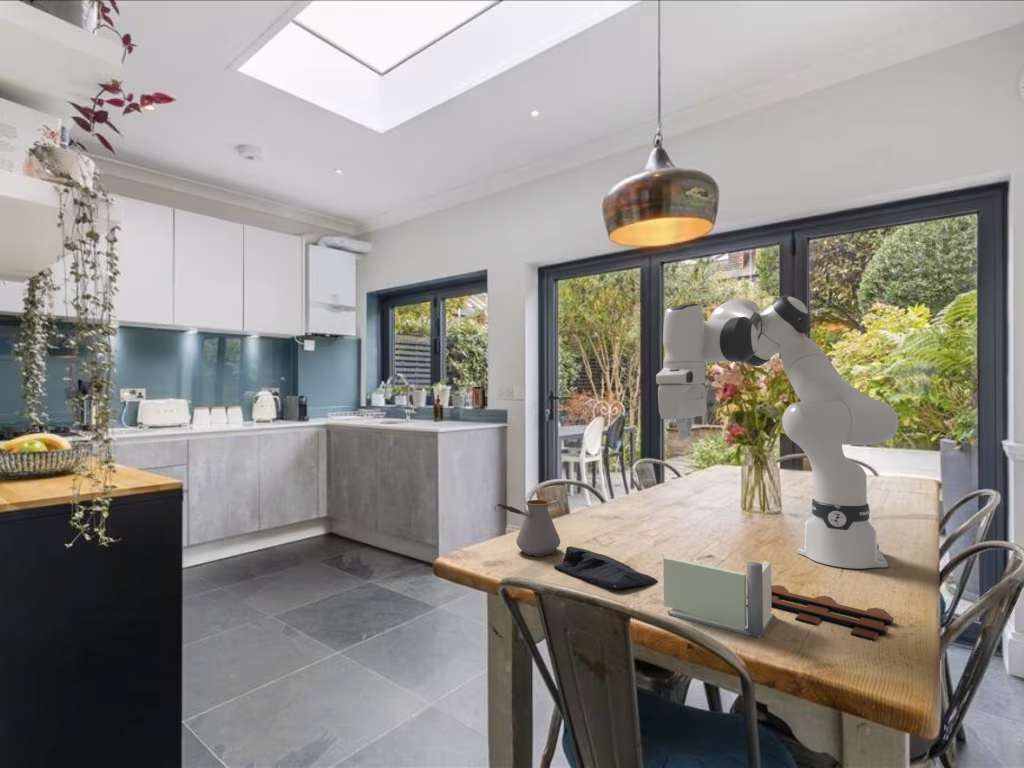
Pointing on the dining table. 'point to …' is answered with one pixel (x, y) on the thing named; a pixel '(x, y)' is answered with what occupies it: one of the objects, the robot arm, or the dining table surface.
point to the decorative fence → (820, 608)
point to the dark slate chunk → (601, 569)
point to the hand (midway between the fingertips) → (684, 438)
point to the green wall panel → (705, 591)
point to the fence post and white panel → (758, 596)
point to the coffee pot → (536, 529)
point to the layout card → (718, 623)
